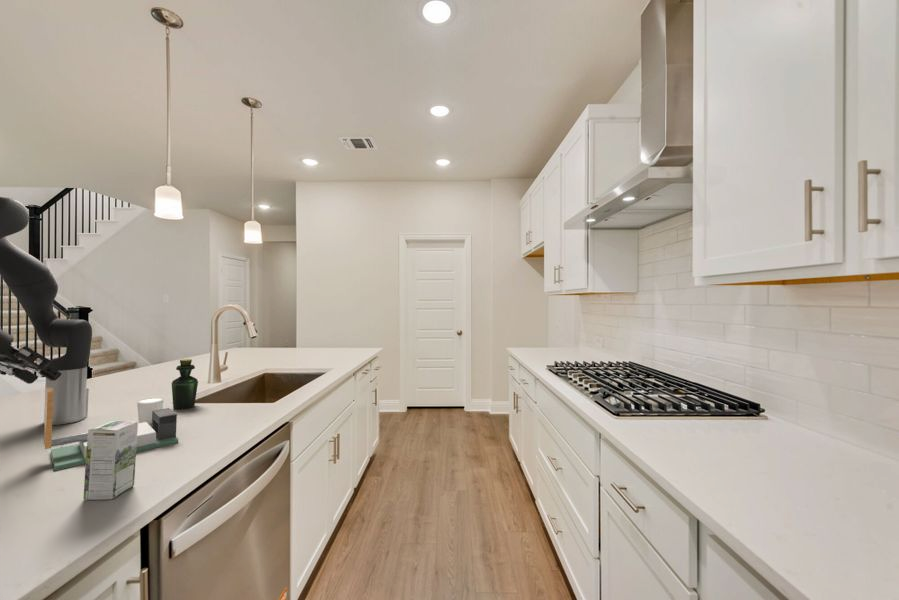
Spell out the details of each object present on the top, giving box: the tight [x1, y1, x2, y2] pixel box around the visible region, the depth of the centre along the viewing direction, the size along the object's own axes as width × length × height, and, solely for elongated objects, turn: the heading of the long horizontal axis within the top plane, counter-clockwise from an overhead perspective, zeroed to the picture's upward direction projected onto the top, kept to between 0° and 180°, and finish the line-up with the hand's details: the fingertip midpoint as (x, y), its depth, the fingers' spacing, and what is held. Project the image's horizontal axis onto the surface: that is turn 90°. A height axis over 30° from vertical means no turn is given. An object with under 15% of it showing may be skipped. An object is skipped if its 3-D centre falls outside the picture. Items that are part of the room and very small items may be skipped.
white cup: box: [136, 397, 165, 425], centre depth 120 cm, size 7×7×7 cm
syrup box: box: [83, 420, 139, 501], centre depth 76 cm, size 6×6×14 cm
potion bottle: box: [171, 358, 199, 410], centre depth 136 cm, size 8×8×18 cm
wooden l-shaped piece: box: [43, 387, 88, 450], centre depth 93 cm, size 12×6×14 cm, turn 140°
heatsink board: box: [50, 407, 179, 471], centre depth 98 cm, size 24×14×8 cm, turn 140°
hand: (45, 379), depth 89 cm, fingers open, 8 cm apart
